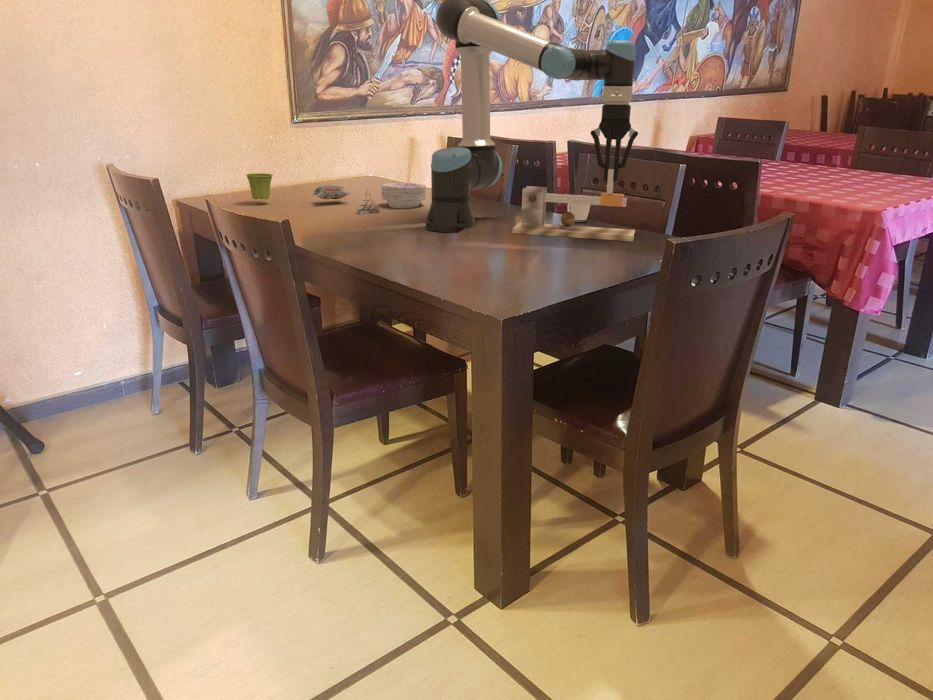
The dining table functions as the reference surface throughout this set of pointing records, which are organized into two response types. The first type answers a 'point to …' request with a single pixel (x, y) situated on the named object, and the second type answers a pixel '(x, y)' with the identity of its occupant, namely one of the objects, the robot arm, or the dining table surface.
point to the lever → (588, 199)
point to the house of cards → (368, 210)
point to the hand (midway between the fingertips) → (609, 193)
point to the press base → (579, 232)
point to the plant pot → (260, 185)
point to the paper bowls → (403, 194)
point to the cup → (579, 210)
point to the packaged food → (330, 192)
